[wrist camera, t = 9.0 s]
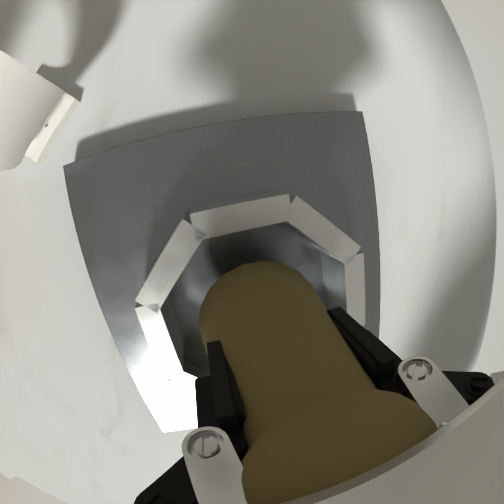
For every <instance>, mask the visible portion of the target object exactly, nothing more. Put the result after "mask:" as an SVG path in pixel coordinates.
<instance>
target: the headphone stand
mask: <svg viewBox="0 0 504 504" xmlns="http://www.w3.org/2000/svg"><path fill="white" fill-rule="evenodd" d="M79 104H80V102H79V101H78V100H76V99H75V98H73V97H72V96H70V95H69V94H67V93H66V92H64V91H63V90H62V89H60V88H59V87H57V86H56V85H54V84H53V83H51V82H50V81H48V80H47V79H45V78H44V77H42V76H40V75H39V74H37V73H36V72H34V71H33V70H31V69H30V68H28V67H26V66H25V65H23V64H22V63H20V62H19V61H17V60H15V59H14V58H12V57H11V56H9V55H7V54H6V53H4V52H3V51H1V50H0V171H2V170H9V169H12V168H15V167H17V166H18V165H19V164H20V163H21V161H22V159H23V157H24V155H27V156H28V157H29V158H30V159H31V160H33V161H34V162H35V163H39V164H42V163H43V161H44V159H45V158H46V156H47V154H48V152H49V150H50V149H51V147H52V145H53V144H54V142H55V140H56V138H57V137H58V135H59V134H60V132H61V130H62V129H63V127H64V126H65V124H66V123H67V121H68V120H69V118H70V117H71V115H72V114H73V112H74V111H75V109H76V108H77V106H78V105H79Z"/></svg>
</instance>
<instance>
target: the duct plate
mask: <svg viewBox="0 0 504 504" xmlns="http://www.w3.org/2000/svg"><path fill="white" fill-rule="evenodd" d="M63 168H64V174H65V180H66V186H67V191H68V197H69V201H70V206H71V211H72V215H73V220H74V224H75V228H76V232H77V236H78V239H79V243H80V247H81V250H82V254H83V257H84V260H85V264H86V267H87V270H88V273H89V276H90V279H91V282H92V285H93V288H94V291H95V294H96V296H97V299H98V302H99V304H100V307H101V310H102V312H103V315H104V317H105V320H106V322H107V325H108V327H109V330H110V332H111V334H112V337H113V339H114V341H115V343H116V346H117V348H118V350H119V352H120V354H121V356H122V358H123V361H124V363H125V365H126V367H127V369H128V371H129V373H130V375H131V377H132V379H133V380H134V382H135V384H136V386H137V388H138V390H139V392H140V394H141V395H142V397H143V399H144V401H145V402H146V404H147V406H148V408H149V409H150V411H151V413H152V414H153V416H154V418H155V419H156V421H157V423H158V424H159V426H160V427H161V429H162V431H163V432H168V431H176V430H183V429H190V428H196V427H197V414H196V398H195V378H200V377H205V376H210V369H209V361H208V354H207V351H206V349H205V346H204V343H203V340H202V336H201V332H200V328H199V315H200V307H201V304H202V302H203V300H204V298H205V296H206V294H207V292H208V290H209V289H210V288H211V287H212V286H213V285H214V284H215V283H216V282H217V281H218V280H219V279H220V278H221V277H222V276H223V275H224V274H225V273H227V272H229V271H231V270H233V269H235V268H237V267H239V266H241V265H243V264H248V263H254V262H259V261H269V262H277V263H283V264H285V265H287V266H289V267H291V268H293V269H295V270H297V271H299V272H300V273H301V274H302V275H303V276H304V277H305V278H306V279H307V280H308V281H309V282H310V283H311V285H312V286H313V288H314V289H315V291H316V293H317V294H318V296H319V297H320V299H321V300H322V302H323V303H324V305H325V306H326V308H327V309H328V310H330V309H333V308H336V307H341V308H342V309H343V310H344V311H346V312H347V313H348V314H349V315H350V316H351V317H352V318H353V319H355V320H356V321H357V322H358V323H359V324H360V325H361V326H362V327H363V328H365V329H367V330H369V331H370V332H371V333H372V334H374V335H375V336H376V337H377V338H378V339H379V324H380V249H379V231H378V217H377V206H376V196H375V187H374V179H373V171H372V164H371V157H370V151H369V145H368V139H367V133H366V128H365V123H364V118H363V113H362V112H360V111H351V112H316V113H299V114H287V115H276V116H266V117H258V118H250V119H243V120H236V121H229V122H223V123H217V124H211V125H206V126H201V127H196V128H191V129H186V130H181V131H177V132H172V133H168V134H164V135H160V136H156V137H152V138H148V139H144V140H140V141H137V142H133V143H130V144H126V145H123V146H120V147H116V148H113V149H110V150H107V151H104V152H101V153H98V154H95V155H92V156H89V157H86V158H83V159H81V160H78V161H75V162H72V163H70V164H67V165H65V166H63Z"/></svg>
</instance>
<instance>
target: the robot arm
mask: <svg viewBox="0 0 504 504" xmlns="http://www.w3.org/2000/svg"><path fill="white" fill-rule="evenodd" d="M327 312H328V313H329V316H330V318H331V319H332V321H333V323H334V324H335V326H336V327H337V329H338V331H339V332H340V333H341V335H342V336H343V338H344V339H345V341H346V342H347V344H348V345H349V347H350V348H351V350H352V351H353V353H354V354H355V356H356V357H357V359H358V360H359V362H360V363H361V365H362V366H363V368H364V369H365V371H366V372H367V374H368V375H369V377H370V378H371V380H372V381H373V383H374V384H375V386H376V388H377V389H378V390H383V391H389V392H395V393H399V394H401V395H403V396H405V397H406V398H408V399H410V400H412V401H414V402H416V403H417V404H418V405H419V406H420V407H421V408H422V409H423V410H424V411H425V412H426V413H427V414H428V415H429V416H430V417H431V418H432V419H433V421H434V422H435V424H436V426H437V428H438V430H437V431H436V432H435V433H433V434H432V435H430V436H429V437H427V438H426V439H424V440H423V441H421V442H419V443H418V444H416V445H415V446H413V447H411V448H410V449H408V450H406V451H405V452H403V453H401V454H399V455H398V456H396V457H394V458H392V459H390V460H389V461H387V462H385V463H383V464H381V465H379V466H377V467H375V468H373V469H371V470H369V471H367V472H365V473H363V474H360V475H358V476H356V477H354V478H352V479H349V480H347V481H345V482H342V483H340V484H337V485H335V486H332V487H329V488H327V489H324V490H321V491H319V492H316V493H313V494H310V495H307V496H304V497H301V498H297V499H294V500H291V501H287V502H284V503H280V504H504V371H502V372H497V373H493V374H490V377H489V376H488V375H487V374H484V373H481V372H454V371H441V370H440V369H439V368H438V367H437V365H436V364H435V363H434V362H433V361H432V360H431V359H429V358H426V357H422V356H413V357H409V358H407V359H405V360H401V359H400V358H399V357H398V356H397V355H396V354H395V353H394V352H393V351H391V350H390V349H389V348H388V347H387V346H386V345H385V344H384V343H383V342H381V341H380V340H379V339H378V338H377V337H376V336H375V335H374V334H372V333H371V332H370V331H369V330H367V329H365V328H363V327H362V326H361V325H360V324H359V323H358V322H357V321H356V320H355V319H353V318H352V317H351V316H350V315H349V314H348V313H347V312H346V311H344V310H343V309H342V308H341V307H336V308H333V309H330V310H327ZM207 352H208V361H209V369H210V376H205V377H200V378H195V398H196V414H197V427H198V429H195V430H193V431H192V432H190V433H189V434H188V435H187V436H186V437H185V438H184V440H183V443H182V452H183V457H182V458H181V459H180V460H178V461H177V462H176V463H175V464H174V465H173V466H172V467H171V468H170V469H168V470H167V471H166V472H165V473H164V474H163V475H162V476H160V477H159V478H158V479H157V480H156V481H155V482H153V483H152V484H151V485H150V486H149V487H147V488H146V489H145V490H144V491H143V492H141V493H140V494H139V495H138V497H137V498H136V500H135V502H134V504H248V503H247V502H246V500H245V496H244V491H243V486H242V481H241V477H242V471H243V466H242V464H241V462H242V459H243V458H244V456H245V455H246V453H247V452H248V451H247V447H246V443H245V440H244V436H243V433H242V429H243V425H244V421H245V420H246V418H245V414H244V411H243V407H242V403H241V399H240V395H239V392H238V388H237V384H236V380H235V376H234V374H233V372H232V370H231V368H230V366H229V364H228V362H227V360H226V359H225V357H224V355H223V351H222V346H221V342H220V340H216V341H212V342H207Z"/></svg>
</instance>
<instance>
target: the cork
mask: <svg viewBox="0 0 504 504" xmlns="http://www.w3.org/2000/svg"><path fill="white" fill-rule="evenodd" d="M327 310H328V309H327V308H326V306H325V305H324V303H323V302H322V300H321V299H320V297H319V296H318V294H317V293H316V291H315V289H314V288H313V286H312V285H311V283H310V282H309V281H308V280H307V279H306V278H305V277H304V276H303V275H302V274H301V273H300V272H299V271H297V270H295V269H293V268H291V267H289V266H287V265H285V264H283V263H277V262H269V261H259V262H254V263H248V264H243V265H241V266H239V267H237V268H235V269H233V270H231V271H229V272H227V273H225V274H224V275H223V276H222V277H221V278H220V279H219V280H218V281H217V282H216V283H215V284H214V285H213V286H212V287H211V288H210V289H209V290H208V292H207V294H206V296H205V298H204V300H203V302H202V304H201V307H200V315H199V328H200V332H201V336H202V340H203V343H204V346H205V349H206V351H207V342H212V341H216V340H220V342H221V346H222V351H223V355H224V357H225V359H226V360H227V362H228V364H229V366H230V368H231V370H232V372H233V374H234V376H235V380H236V384H237V388H238V392H239V395H240V399H241V403H242V407H243V411H244V414H245V418H246V420H245V421H244V425H243V429H242V433H243V436H244V440H245V443H246V447H247V451H248V452H247V453H246V455H245V456H244V458H243V459H242V462H241V464H242V466H243V471H242V477H241V481H242V486H243V491H244V496H245V500H246V502H247V503H248V504H280V503H284V502H287V501H291V500H294V499H297V498H301V497H304V496H307V495H310V494H313V493H316V492H319V491H321V490H324V489H327V488H329V487H332V486H335V485H337V484H340V483H342V482H345V481H347V480H349V479H352V478H354V477H356V476H358V475H360V474H363V473H365V472H367V471H369V470H371V469H373V468H375V467H377V466H379V465H381V464H383V463H385V462H387V461H389V460H390V459H392V458H394V457H396V456H398V455H399V454H401V453H403V452H405V451H406V450H408V449H410V448H411V447H413V446H415V445H416V444H418V443H419V442H421V441H423V440H424V439H426V438H427V437H429V436H430V435H432V434H433V433H435V432H436V431H437V430H438V428H437V426H436V424H435V422H434V421H433V419H432V418H431V417H430V416H429V415H428V414H427V413H426V412H425V411H424V410H423V409H422V408H421V407H420V406H419V405H418V404H417V403H416V402H414V401H412V400H410V399H408V398H406V397H405V396H403V395H401V394H399V393H395V392H389V391H383V390H378V389H377V388H376V386H375V384H374V383H373V381H372V380H371V378H370V377H369V375H368V374H367V372H366V371H365V369H364V368H363V366H362V365H361V363H360V362H359V360H358V359H357V357H356V356H355V354H354V353H353V351H352V350H351V348H350V347H349V345H348V344H347V342H346V341H345V339H344V338H343V336H342V335H341V333H340V332H339V331H338V329H337V327H336V326H335V324H334V323H333V321H332V319H331V318H330V316H329V313H328V312H327ZM207 354H208V352H207Z"/></svg>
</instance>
